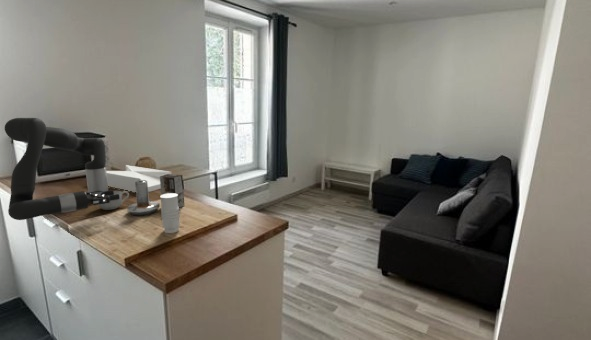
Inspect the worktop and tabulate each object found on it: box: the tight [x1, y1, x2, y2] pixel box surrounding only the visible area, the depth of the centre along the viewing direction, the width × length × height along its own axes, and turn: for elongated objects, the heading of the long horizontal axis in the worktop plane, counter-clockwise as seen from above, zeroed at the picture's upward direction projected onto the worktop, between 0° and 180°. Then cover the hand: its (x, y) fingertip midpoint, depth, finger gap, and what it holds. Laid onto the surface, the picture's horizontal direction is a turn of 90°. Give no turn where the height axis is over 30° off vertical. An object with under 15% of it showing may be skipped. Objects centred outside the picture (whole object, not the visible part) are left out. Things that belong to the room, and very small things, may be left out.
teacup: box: [98, 190, 130, 211], centre depth 155 cm, size 14×11×8 cm
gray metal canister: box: [135, 180, 150, 207], centre depth 149 cm, size 5×5×12 cm
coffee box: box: [160, 173, 185, 208], centre depth 158 cm, size 9×6×16 cm
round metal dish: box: [126, 200, 161, 217], centre depth 150 cm, size 14×14×3 cm
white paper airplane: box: [106, 164, 173, 193], centre depth 199 cm, size 45×22×10 cm, turn 63°
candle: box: [159, 193, 181, 234], centre depth 128 cm, size 7×7×15 cm
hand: (116, 194), depth 141 cm, fingers open, 8 cm apart
